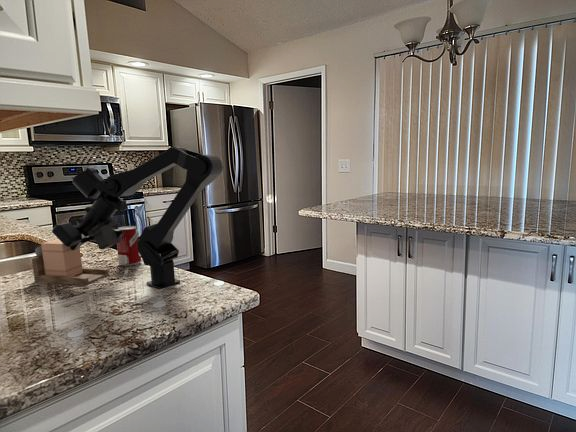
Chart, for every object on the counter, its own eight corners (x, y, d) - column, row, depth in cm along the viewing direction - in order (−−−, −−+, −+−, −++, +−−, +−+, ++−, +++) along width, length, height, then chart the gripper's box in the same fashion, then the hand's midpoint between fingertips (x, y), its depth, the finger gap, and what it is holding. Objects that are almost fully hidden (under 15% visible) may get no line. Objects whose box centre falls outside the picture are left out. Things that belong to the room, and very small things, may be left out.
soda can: (126, 268, 116) (122, 230, 114) (114, 265, 120) (111, 228, 118) (145, 263, 122) (142, 226, 120) (134, 260, 126) (131, 224, 124)
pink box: (83, 272, 110) (79, 239, 109) (66, 279, 105) (62, 244, 103) (62, 271, 112) (58, 238, 111) (45, 277, 106) (40, 243, 105)
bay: (109, 274, 110) (105, 242, 109) (86, 285, 102) (82, 250, 100) (58, 271, 114) (55, 241, 113) (32, 281, 106) (28, 248, 104)
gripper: (97, 239, 93) (65, 280, 97) (143, 225, 110) (114, 260, 115) (66, 207, 93) (36, 249, 97) (117, 198, 111) (89, 234, 115)
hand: (72, 249), depth 106 cm, fingers closed, pressing on pink box
